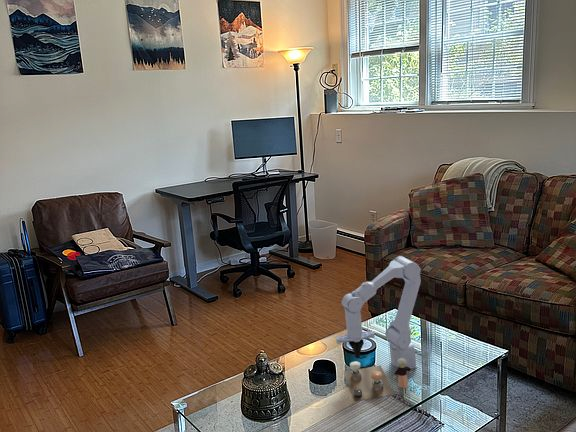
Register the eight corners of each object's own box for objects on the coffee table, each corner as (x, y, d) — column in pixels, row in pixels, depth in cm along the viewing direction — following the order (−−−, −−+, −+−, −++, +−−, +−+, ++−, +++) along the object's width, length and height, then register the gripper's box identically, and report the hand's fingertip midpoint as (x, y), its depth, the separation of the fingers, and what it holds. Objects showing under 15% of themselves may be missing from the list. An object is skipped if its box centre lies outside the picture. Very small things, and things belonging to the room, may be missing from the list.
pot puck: (360, 392, 200) (359, 385, 200) (363, 396, 198) (362, 389, 197) (353, 394, 200) (352, 387, 199) (356, 398, 197) (354, 391, 196)
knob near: (381, 378, 203) (380, 370, 202) (384, 384, 199) (383, 376, 199) (370, 380, 203) (369, 372, 202) (373, 386, 199) (372, 377, 198)
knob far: (359, 368, 212) (358, 360, 211) (362, 374, 208) (361, 366, 207) (349, 370, 211) (348, 362, 210) (351, 376, 207) (351, 367, 206)
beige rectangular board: (380, 368, 217) (379, 359, 215) (395, 397, 197) (394, 387, 196) (343, 375, 215) (342, 366, 214) (355, 404, 196) (354, 395, 195)
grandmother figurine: (399, 395, 198) (396, 364, 195) (392, 390, 202) (390, 360, 198) (416, 387, 202) (413, 357, 198) (409, 382, 205) (406, 352, 202)
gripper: (337, 332, 201) (340, 365, 205) (375, 326, 202) (378, 359, 206) (333, 324, 208) (337, 356, 212) (370, 318, 209) (373, 349, 213)
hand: (357, 357), depth 209 cm, fingers closed
